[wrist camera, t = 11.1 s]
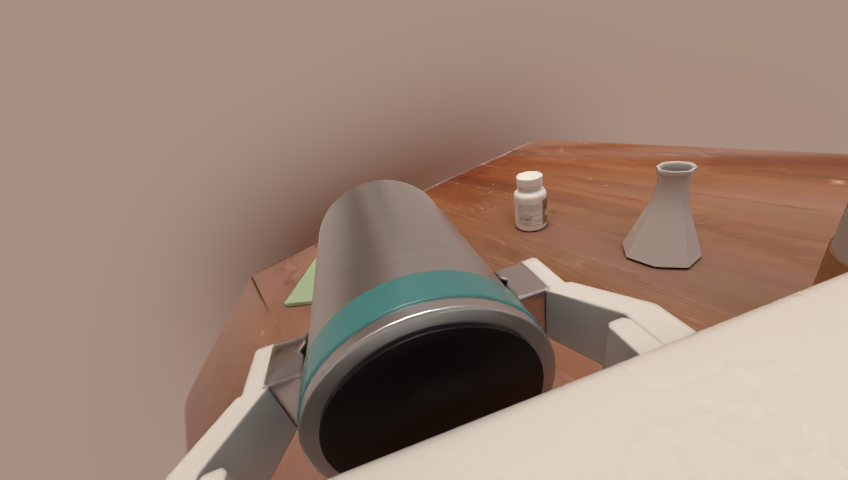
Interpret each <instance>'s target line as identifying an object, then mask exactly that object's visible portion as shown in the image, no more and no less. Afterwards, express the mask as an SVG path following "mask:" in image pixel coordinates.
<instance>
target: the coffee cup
mask: <svg viewBox="0 0 848 480" xmlns="http://www.w3.org/2000/svg"><path fill="white" fill-rule="evenodd" d="M846 272H848V203H847V206H846V208H845V211H844V213H843V216H842V218H841V221H840V223H839V226H838V228H837V231H836V233H835V235H834V237H833V238H832V239H831V241H830V242H829V245H828V247H827V250H826V253H825V255H824V258H823V260H822V263H821V266H820V268H819V271H818V273H817V276H816V278H815V281H814V284H813V286H814V285H816V284H819V283H821V282H824V281H826V280H829V279H831V278H834V277H836V276H839V275H841V274H844V273H846Z"/></svg>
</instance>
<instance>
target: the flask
mask: <svg viewBox="0 0 848 480" xmlns="http://www.w3.org/2000/svg"><path fill="white" fill-rule="evenodd" d="M697 169H698V167H697V166H696V165H695V164H694V163H693V162H683V161H671V162H662V163H660V164H659V165H657V166H656V172H657V173H658V178H657V183H656V187H655V189H654V192H653V194H652V196H651V199H650V201H649V203H648V204H647V206H646V208H645V209H644V211H643V212H642V214H641V216H640V217H639V219H638V220H637V222H636V223H635V225H634V226H633V228H632V229H631V231H630V232H629V234H628V235H627V237H626V238H625V240H624V241H623V243H622V244H623V248H624V251H625V254H626V257H628V258H631V259H634V260H637V261H640V262H642V263H645V264H648V265H651V266H654V267H676V268H689V267H690V266H691V265H692V264H693V263H694V262H696V261H697V260H698V259H699V258H700V257H701V256H702V254H701V249H700V245H699V242H698V238H697V234H696V231H695V227H694V222H693V218H692V213H691V208H690V204H689V186H690V181H691V177H692V174H694V173H695V172H696V171H697Z"/></svg>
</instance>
